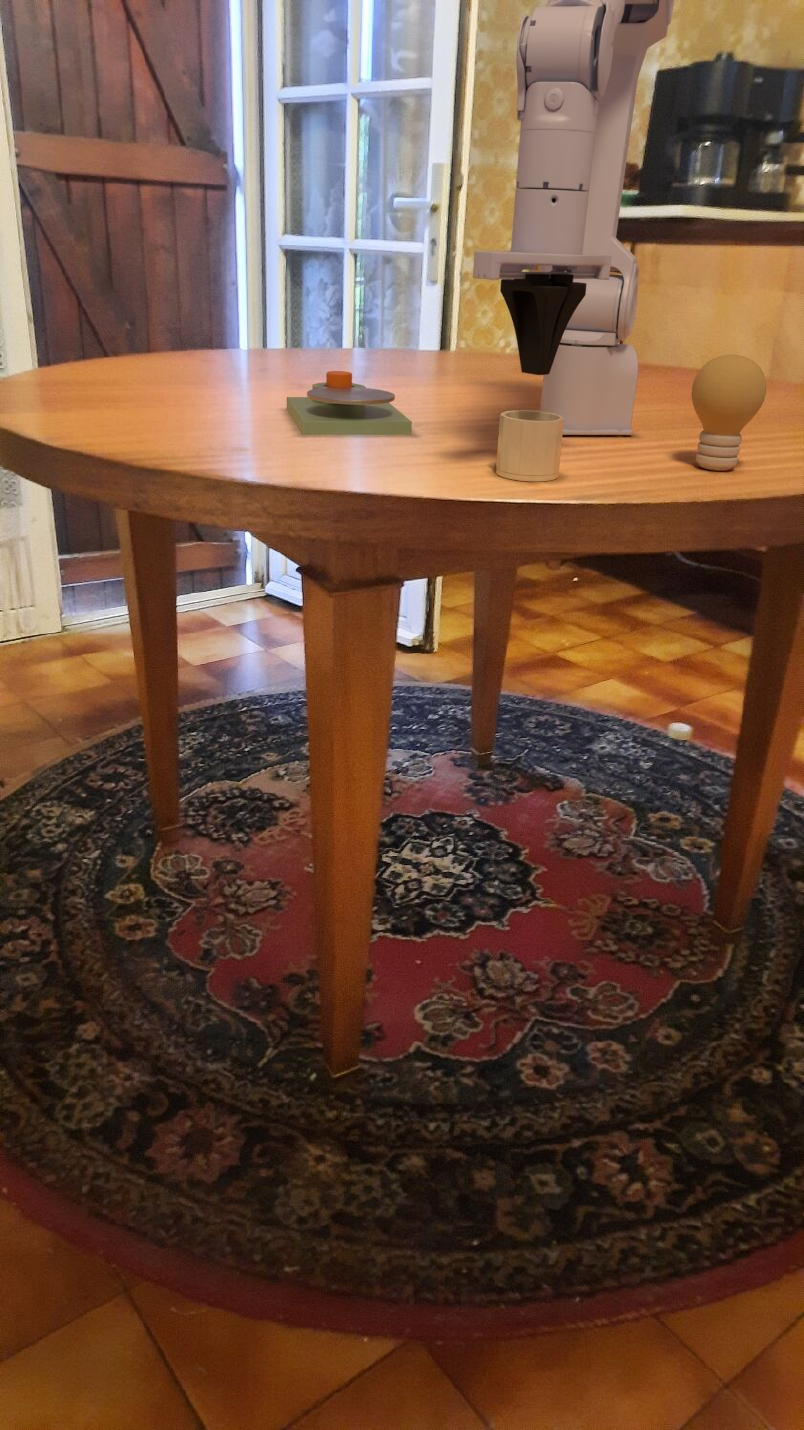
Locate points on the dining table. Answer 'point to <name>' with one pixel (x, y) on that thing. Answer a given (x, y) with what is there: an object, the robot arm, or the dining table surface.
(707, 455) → the light bulb
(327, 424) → the scale
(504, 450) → the ramekin
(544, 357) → the robot arm
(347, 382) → the orange cylinder
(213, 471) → the dining table surface
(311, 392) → the weighing pan
